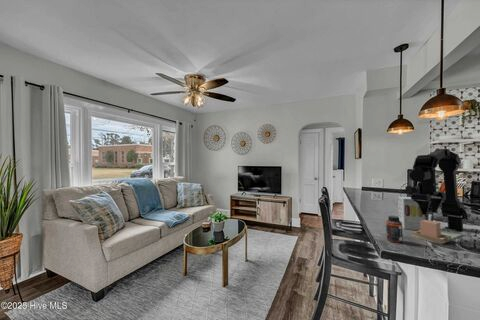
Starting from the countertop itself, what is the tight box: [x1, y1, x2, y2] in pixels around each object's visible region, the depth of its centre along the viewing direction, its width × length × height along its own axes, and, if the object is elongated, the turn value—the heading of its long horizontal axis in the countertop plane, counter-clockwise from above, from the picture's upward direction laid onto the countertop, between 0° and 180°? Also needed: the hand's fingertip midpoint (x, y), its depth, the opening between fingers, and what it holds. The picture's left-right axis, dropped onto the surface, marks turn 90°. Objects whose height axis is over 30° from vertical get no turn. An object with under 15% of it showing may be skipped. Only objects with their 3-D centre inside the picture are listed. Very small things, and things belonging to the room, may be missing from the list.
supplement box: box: [397, 196, 426, 231], centre depth 113 cm, size 10×9×17 cm
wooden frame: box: [411, 230, 452, 245], centre depth 96 cm, size 9×11×2 cm
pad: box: [441, 229, 463, 240], centre depth 101 cm, size 10×10×1 cm
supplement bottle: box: [385, 215, 404, 244], centre depth 94 cm, size 6×6×11 cm
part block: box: [420, 219, 442, 238], centre depth 96 cm, size 4×6×8 cm, turn 25°
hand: (429, 213), depth 96 cm, fingers open, 9 cm apart
